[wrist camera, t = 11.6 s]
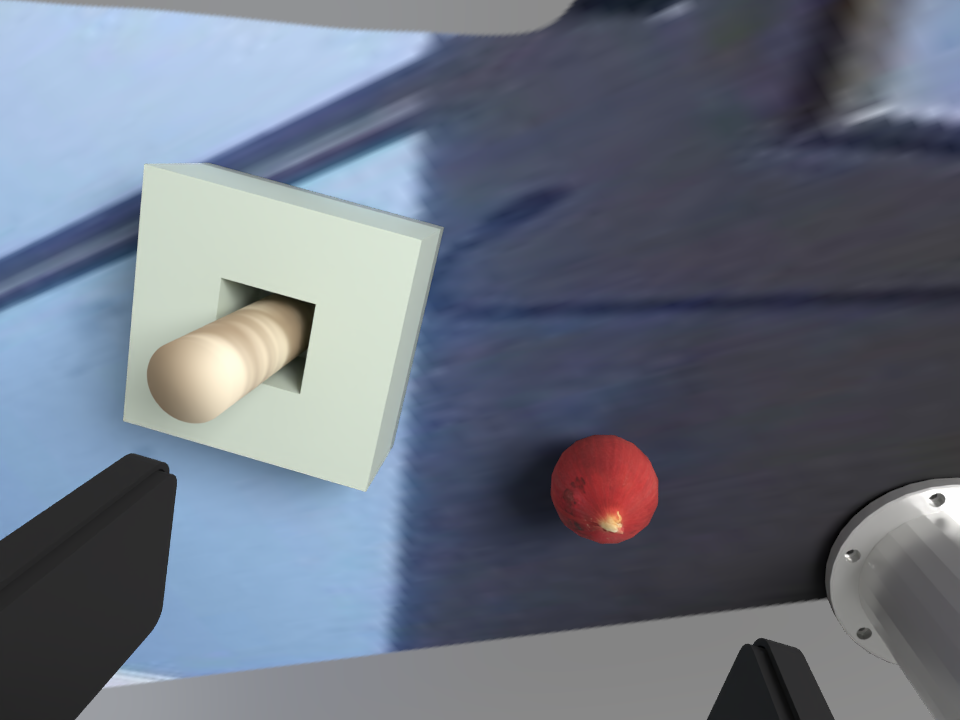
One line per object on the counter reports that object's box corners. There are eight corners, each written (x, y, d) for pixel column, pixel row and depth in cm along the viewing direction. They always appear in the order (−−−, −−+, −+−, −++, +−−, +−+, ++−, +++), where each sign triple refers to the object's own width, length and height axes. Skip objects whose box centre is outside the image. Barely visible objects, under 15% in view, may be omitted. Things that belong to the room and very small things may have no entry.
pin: (334, 294, 38) (235, 354, 26) (323, 352, 39) (224, 433, 28) (274, 278, 38) (150, 330, 27) (265, 336, 39) (143, 410, 28)
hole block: (443, 227, 37) (421, 240, 31) (393, 445, 41) (365, 491, 36) (208, 162, 37) (144, 163, 32) (183, 385, 42) (123, 421, 36)
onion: (574, 513, 41) (576, 594, 34) (536, 435, 40) (530, 500, 32) (663, 482, 40) (687, 559, 32) (627, 400, 39) (642, 460, 31)
